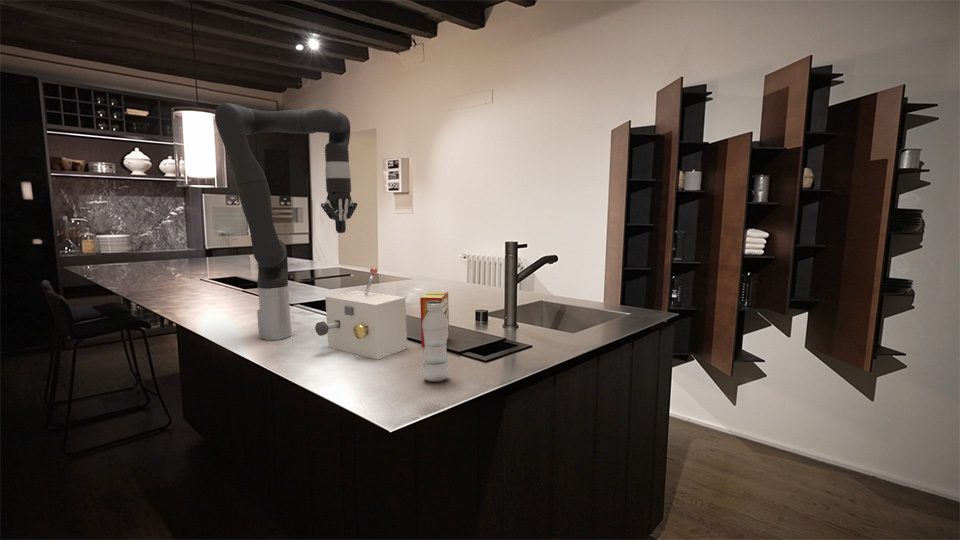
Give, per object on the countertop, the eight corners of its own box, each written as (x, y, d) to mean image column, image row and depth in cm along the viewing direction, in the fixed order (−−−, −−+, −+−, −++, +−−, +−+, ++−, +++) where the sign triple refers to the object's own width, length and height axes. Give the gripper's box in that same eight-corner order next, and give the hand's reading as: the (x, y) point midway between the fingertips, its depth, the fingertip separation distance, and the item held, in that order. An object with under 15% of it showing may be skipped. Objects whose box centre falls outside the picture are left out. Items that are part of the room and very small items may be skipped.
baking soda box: (442, 348, 148) (441, 296, 146) (421, 347, 149) (420, 296, 147) (449, 339, 157) (448, 290, 155) (429, 338, 158) (428, 290, 156)
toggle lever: (360, 294, 146) (369, 266, 149) (365, 296, 148) (374, 268, 150) (365, 294, 145) (374, 266, 147) (370, 296, 147) (379, 269, 149)
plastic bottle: (423, 375, 125) (421, 300, 122) (449, 374, 125) (447, 299, 122) (422, 385, 118) (420, 305, 115) (449, 384, 119) (448, 305, 116)
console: (326, 347, 149) (323, 297, 147) (358, 337, 160) (355, 290, 158) (376, 360, 137) (373, 305, 135) (407, 348, 148) (405, 297, 145)
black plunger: (315, 334, 142) (314, 321, 142) (334, 329, 148) (334, 316, 147) (324, 336, 140) (323, 323, 139) (343, 331, 146) (342, 318, 145)
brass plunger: (353, 337, 139) (352, 324, 138) (371, 332, 144) (371, 319, 144) (363, 339, 136) (362, 326, 136) (381, 334, 142) (380, 320, 142)
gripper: (328, 176, 143) (331, 234, 145) (362, 177, 154) (365, 231, 156) (312, 177, 147) (315, 233, 149) (346, 178, 158) (349, 231, 160)
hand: (341, 232), depth 153 cm, fingers closed
